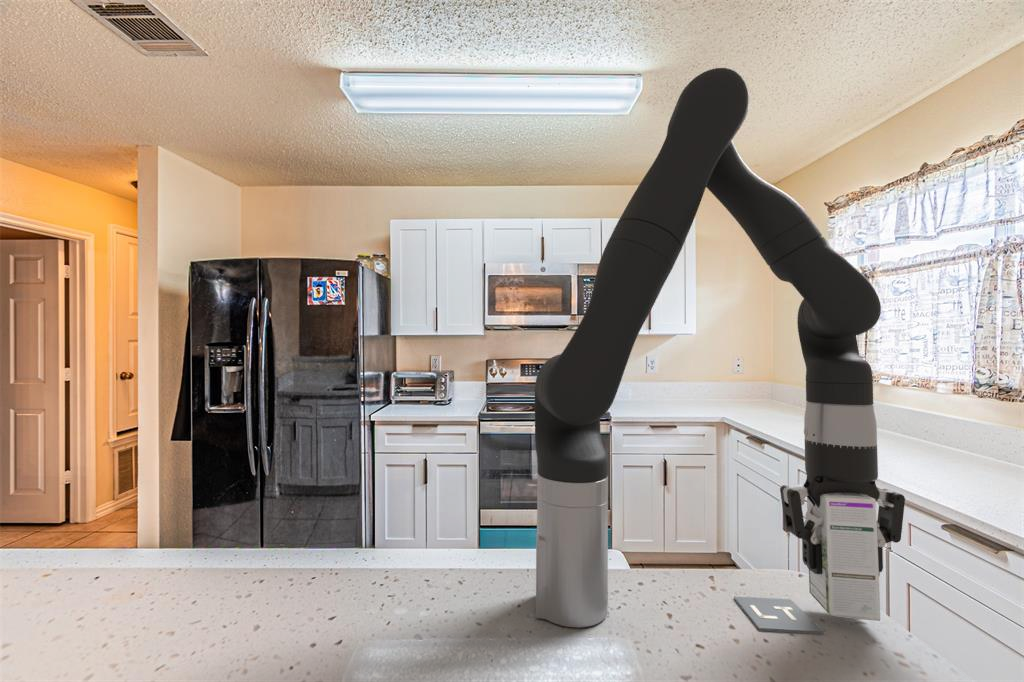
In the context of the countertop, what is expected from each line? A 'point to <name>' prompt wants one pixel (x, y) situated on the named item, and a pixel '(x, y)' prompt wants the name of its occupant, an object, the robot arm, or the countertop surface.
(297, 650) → the countertop surface
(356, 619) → the countertop surface
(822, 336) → the robot arm
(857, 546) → the syrup box
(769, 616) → the tile
